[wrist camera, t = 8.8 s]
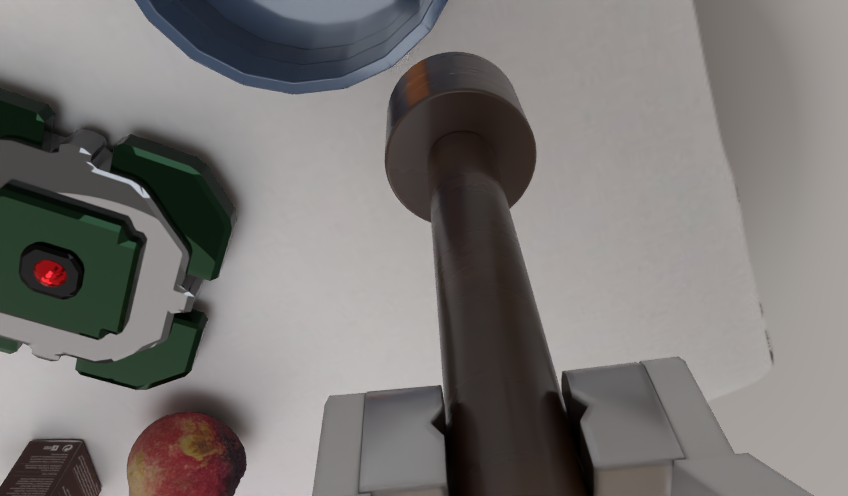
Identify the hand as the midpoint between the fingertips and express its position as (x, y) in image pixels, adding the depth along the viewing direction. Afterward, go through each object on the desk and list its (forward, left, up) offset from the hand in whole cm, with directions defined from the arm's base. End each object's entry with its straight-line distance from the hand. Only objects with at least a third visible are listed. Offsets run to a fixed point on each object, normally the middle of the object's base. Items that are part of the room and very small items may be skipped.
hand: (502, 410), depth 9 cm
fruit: (+21, +30, -30) cm, 47 cm away
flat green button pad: (+24, +13, -30) cm, 41 cm away
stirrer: (0, 0, -11) cm, 11 cm away
